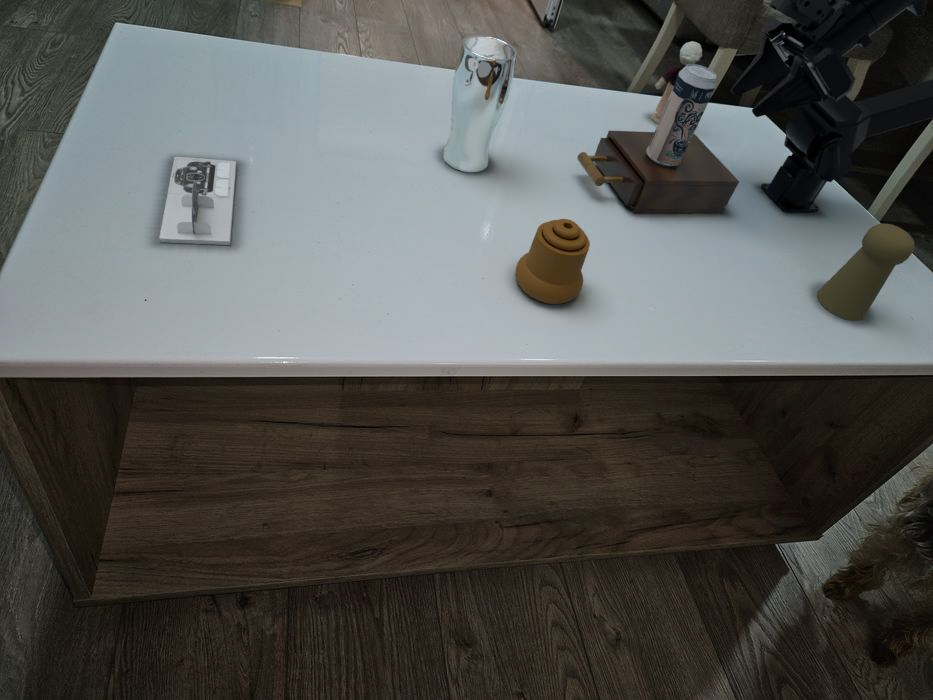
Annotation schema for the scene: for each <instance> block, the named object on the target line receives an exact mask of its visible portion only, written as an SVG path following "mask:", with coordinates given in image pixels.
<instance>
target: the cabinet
mask: <svg viewBox="0 0 933 700" xmlns="http://www.w3.org/2000/svg"><path fill="white" fill-rule="evenodd" d="M654 132H655V131H633V130H610V129H609V130H608V132H607V134H606V137H605V138H609V139H610V141H611V142H612V143H613V145H614V146H615V144H616V146H617V147H618V148H619V150H620V151H621V152H622V153H623V155H624V156H625V157H626V158H627V160H628V161H629V162H630V164H631V165H632V166H633V167H634V169H635V170H636V171H637V172H638V174H639V175H640V176H641V178H642V179H643V180H644V181H645V184H644V186H643V188H642V190H641V193H640V195H639V197H638V198H637V201H636V203H635V205H634V206H628V207H629V208H630V210H631V211H632V212H633V214H717V213H718V214H721V213H723V212H724V211H725V209H726V207H727V205H728V203H730V200H731V198H732V196H733V194H734V192H735V191H736V189H737V187H738V185H739V184H740V181H739V180H738V178H736V176H735V174H733V173H732V172H731V171H730V170H729V169H728V168H727V166H725V165H724V163H723V162H722V161H721V160H720V159H719V158H718V157H717V156H716V155H715V154H714V153H713V152H712V151H711V150H710V148H708V147H707V146H706V144H705V143H704V142H703V141H702V140H701V139H700V138H699V137H698V136H697V135H696V134H695V133H694V134H693V136H692V138H691V141H690V143H689V145H688V147H687V149H686V151H685V153H684V155H683V158H682V160H681V163H680V164H679V165H676V166H670V167H667V166H662V165H659V164H657V163H655V162H654V161H652V160H651V159H650V157H649V156H648V155H647V153H646V150H647V148H648V146H649V144H650V141H651V139H652V137H653V134H654Z"/></svg>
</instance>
